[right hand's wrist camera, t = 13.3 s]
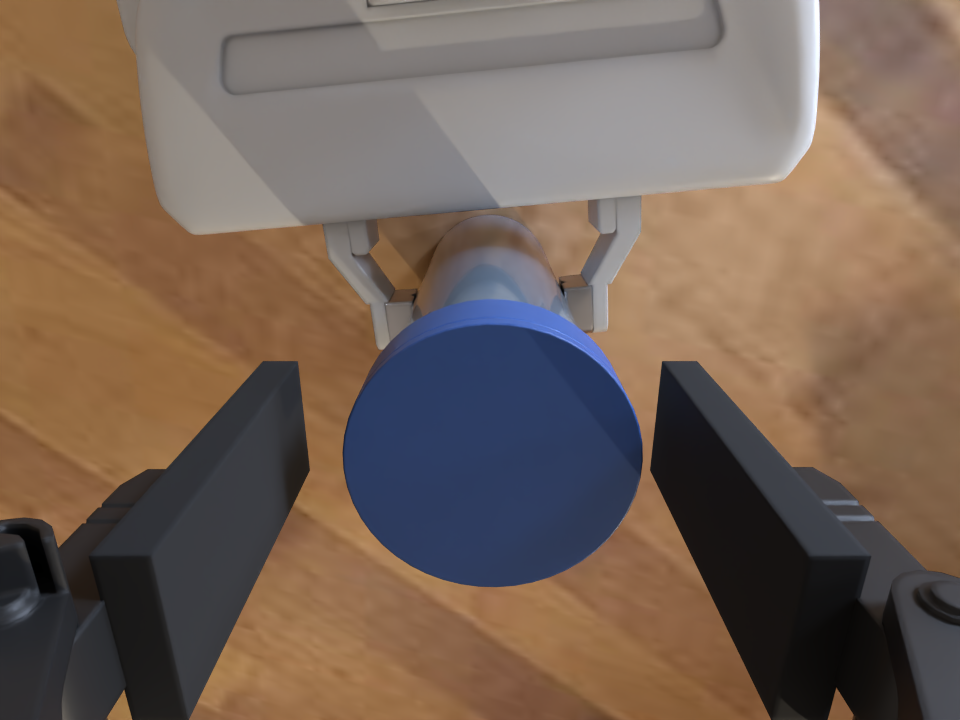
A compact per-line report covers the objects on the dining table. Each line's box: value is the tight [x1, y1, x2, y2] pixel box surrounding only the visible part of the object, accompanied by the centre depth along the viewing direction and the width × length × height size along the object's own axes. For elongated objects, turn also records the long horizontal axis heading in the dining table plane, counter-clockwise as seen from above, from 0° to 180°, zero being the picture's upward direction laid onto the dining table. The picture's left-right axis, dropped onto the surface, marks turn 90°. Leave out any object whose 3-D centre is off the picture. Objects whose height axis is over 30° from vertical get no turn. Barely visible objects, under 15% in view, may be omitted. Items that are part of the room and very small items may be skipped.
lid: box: [343, 299, 643, 587], centre depth 13 cm, size 6×6×2 cm
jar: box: [403, 215, 578, 329], centre depth 20 cm, size 5×5×16 cm
